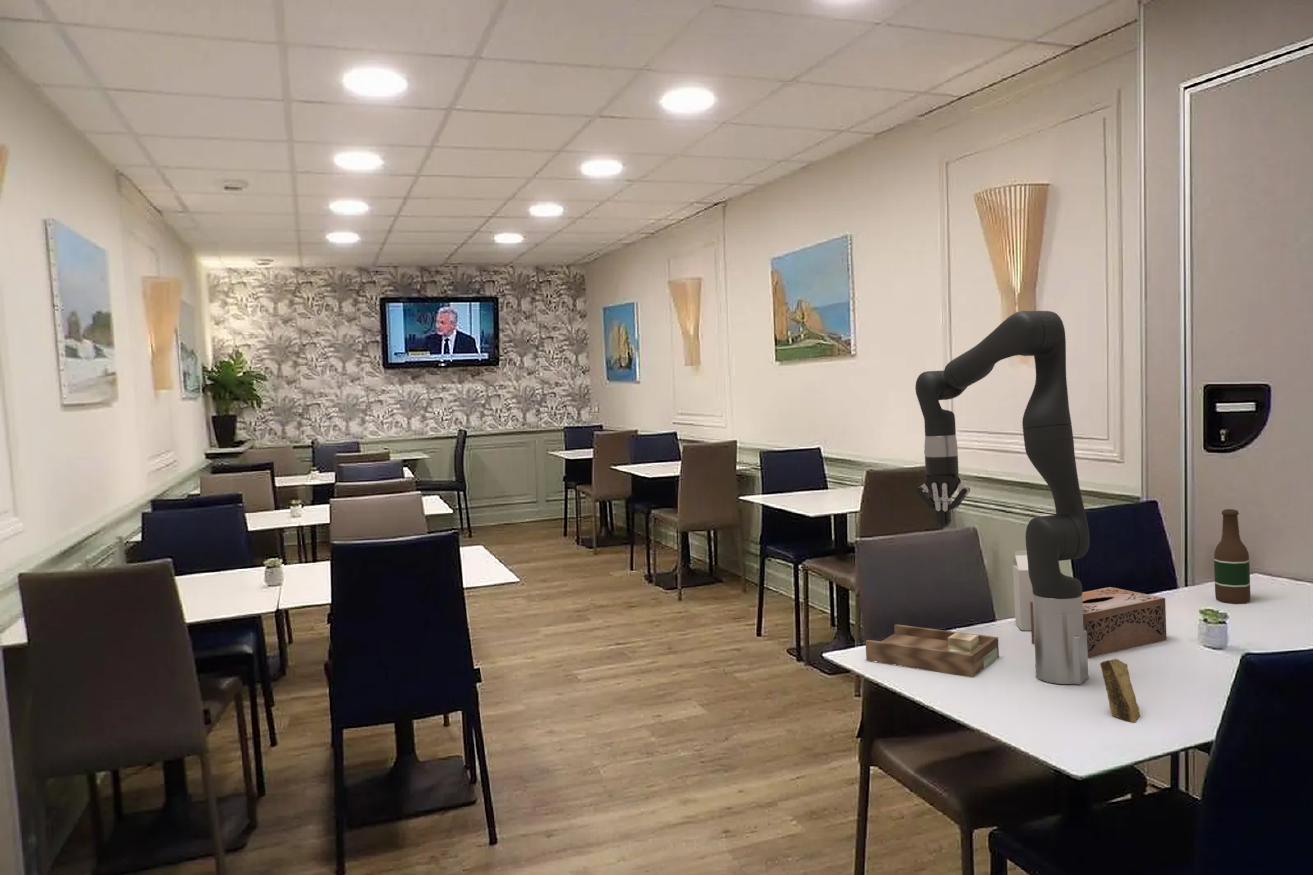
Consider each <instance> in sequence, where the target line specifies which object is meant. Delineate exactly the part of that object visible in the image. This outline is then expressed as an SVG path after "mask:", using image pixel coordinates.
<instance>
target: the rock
mask: <svg viewBox="0 0 1313 875" xmlns="http://www.w3.org/2000/svg"><path fill="white" fill-rule="evenodd" d="M1099 663H1100V664H1099V665H1100V669H1101V674H1102V678H1103V682H1104V686H1105V690H1106V693H1107V700H1108V705H1109V709H1110V713H1111V715H1112V717H1115V718H1117V719H1120V720H1123V721H1125V722H1130V723H1134V724H1135V723H1137V719H1138V718H1139V717H1140V716H1141V714H1140V707H1139V705H1138V703H1137V697H1136V694H1135V692H1134V688H1133V685H1132V682H1131V680H1130V678H1131V677H1130V672H1129V669H1128V664H1127V663H1124V662H1123V661H1120V660H1119V659H1117V658H1112V659H1108V660H1105V661H1102V662H1099Z"/></svg>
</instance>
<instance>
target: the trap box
mask: <svg viewBox="0 0 1313 875" xmlns="http://www.w3.org/2000/svg"><path fill="white" fill-rule="evenodd" d="M893 626H894V633H893V634H891V635H889V636H887V637H886V638H884V639H882V640H881V641H880V640H879V641H878V640H871V639H867V640H865V657H866V660H870V661H869V662H872V661H877V662H876V663H879V662H881V664H885V663H887V665H892V664H896V665H895V666H898V665H902V666H901V667H904V666H906V668H912V669H917V668H919V670H924V669H925V671H930V672H931V671H932V672H938V673H943V674H949V673H950V675H957V676H961V677H962V676H963V677H970V678H974V677H975V676H976V675H977V674H979V673H981V672H982V671H983V670H984V669H986V668H987V667H988V666H990V664H992V663H993V662H995V661H996V660H997V659H999V657H1000V652H999V650H1000V649H999V645H1000V644H999V636H992V635H985V634H975V633H972V634H973V635H978V637H979V647H977V648H976V649H974V650H973V651H971V652H967V651H960V650H952V649H948V637H950V636H951V635H953V634H954V633H956V632H957V633H962V632H958V631H952V630H944V629H935V628H928V627H921V626H911V625H904V624H898V623H897V624H894V625H893ZM964 633H965V634H970V632H969V633H968V632H964ZM994 660H995V661H994ZM981 670H982V671H981Z"/></svg>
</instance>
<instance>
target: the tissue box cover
mask: <svg viewBox="0 0 1313 875" xmlns="http://www.w3.org/2000/svg"><path fill="white" fill-rule="evenodd" d="M1082 600H1083V626H1084V630H1086V631H1087V650H1088V659H1091V658H1095V657H1098V656H1104V655H1108V654H1112V653H1117V652H1120V651H1121V652H1122V651H1126V650H1129V649H1130V650H1131V649H1135V648H1138V647H1144V646H1148V645H1152V644H1156V643H1161V642H1165V641H1167V640H1168V639H1167V638H1168V637H1167V618H1166V616H1167V610H1166V607H1167V606H1166V597H1162V596H1156V595H1153V594H1147V593H1142V592H1137V591H1132V590H1128V589H1127V590H1126V589H1121V588H1118V587H1111V586H1109V587H1104V588H1098V589H1093V590H1087V591H1082ZM1030 611H1031V630H1030V631H1031V632H1030V634H1031V644H1032V645H1035V641H1034V616H1033V602H1030Z"/></svg>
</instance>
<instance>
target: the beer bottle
mask: <svg viewBox="0 0 1313 875" xmlns="http://www.w3.org/2000/svg"><path fill="white" fill-rule="evenodd" d="M1239 514H1240V513H1239V510H1237V509H1233V508H1228V509H1222V511H1221V515H1222V528H1221V529H1222V530H1221V533H1222V534H1221V539H1220V541H1219V542H1218V544H1217V545H1216V547H1215V550H1214V554H1213V564H1214V566H1213V567H1214V568H1213V570H1214V595H1215V599H1216V601H1218V602H1221V603H1223V604H1230V605H1237V604H1238V605H1243V604H1247V603H1250V602H1251V569H1250V554H1249V551H1248V549H1247V547H1246V545H1245V544H1244V543H1243V542H1242V539H1241V535H1240V527H1239V518H1238V515H1239Z"/></svg>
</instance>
